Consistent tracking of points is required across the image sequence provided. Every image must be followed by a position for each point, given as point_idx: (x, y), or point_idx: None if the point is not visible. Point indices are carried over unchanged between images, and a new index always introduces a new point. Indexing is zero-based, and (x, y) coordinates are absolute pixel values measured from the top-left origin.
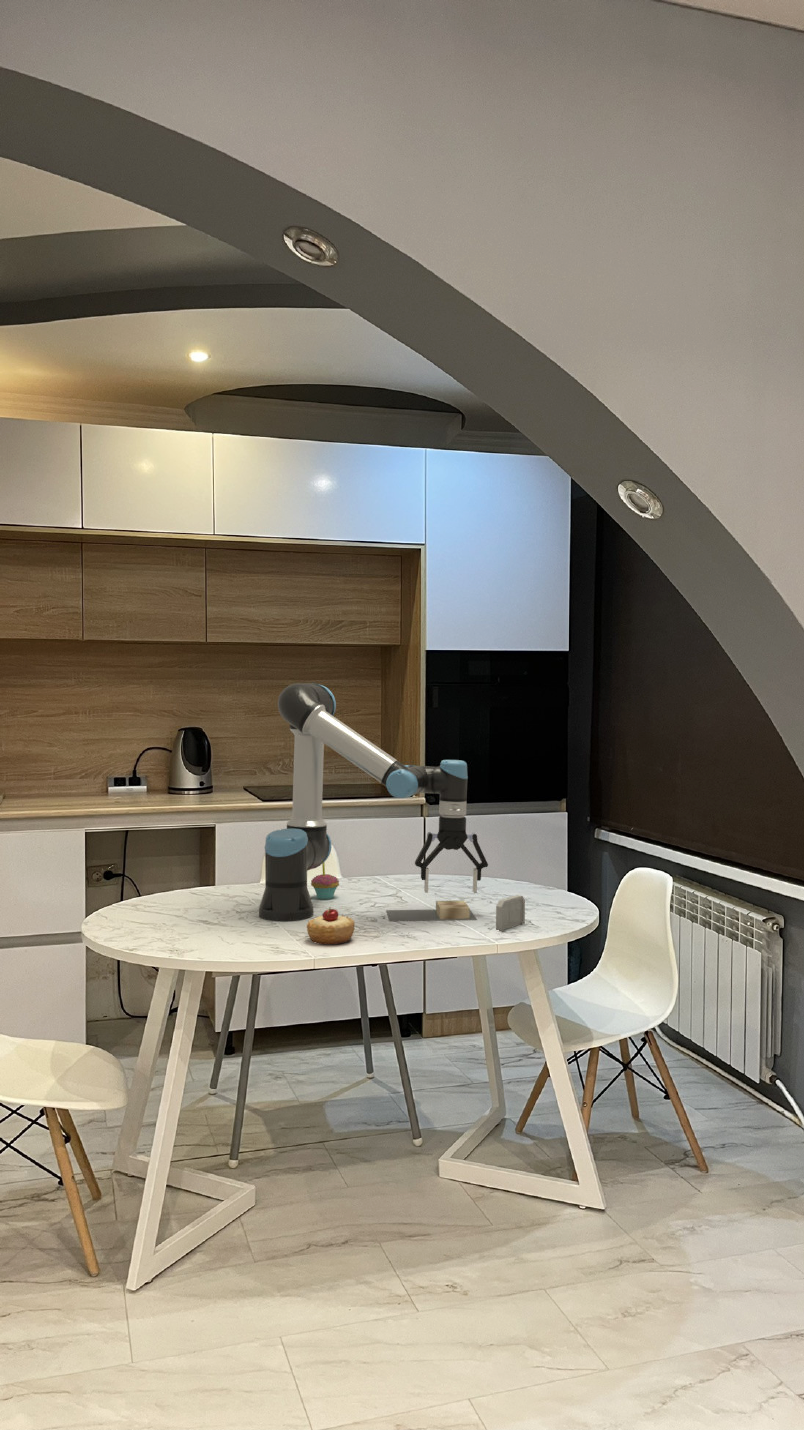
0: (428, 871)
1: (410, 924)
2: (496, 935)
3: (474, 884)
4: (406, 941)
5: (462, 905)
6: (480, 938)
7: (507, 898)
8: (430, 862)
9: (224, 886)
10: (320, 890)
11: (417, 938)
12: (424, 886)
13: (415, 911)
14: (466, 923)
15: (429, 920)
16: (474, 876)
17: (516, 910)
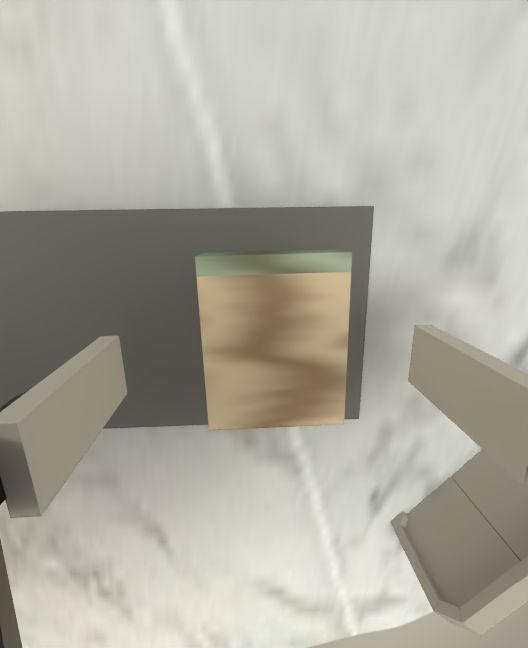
0: (53, 496)
1: (98, 441)
2: (374, 574)
3: (438, 407)
4: (99, 631)
5: (321, 375)
6: (319, 602)
7: (518, 587)
8: (8, 586)
9: None
10: None
11: (131, 604)
12: (88, 347)
13: (104, 249)
14: (311, 431)
15: (169, 423)
16: (476, 434)
17: (524, 494)
